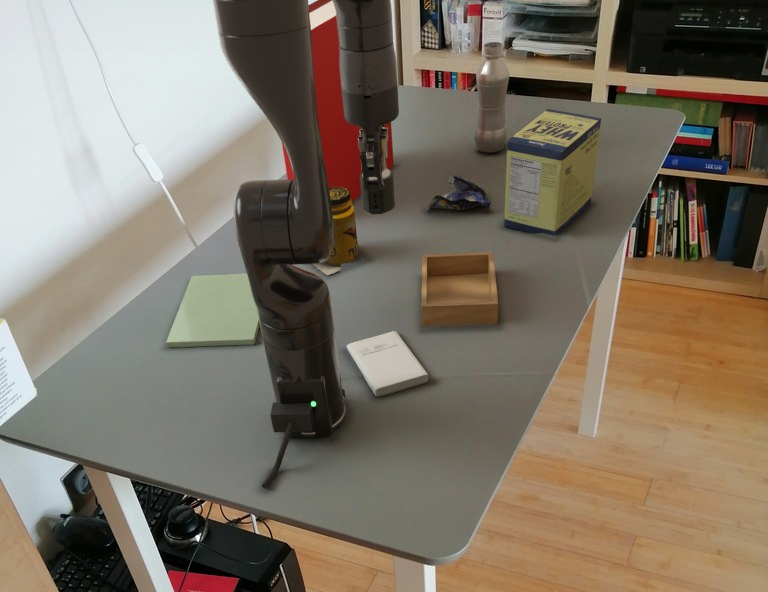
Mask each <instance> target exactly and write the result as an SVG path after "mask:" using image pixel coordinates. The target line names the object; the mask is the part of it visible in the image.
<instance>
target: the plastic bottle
mask: <svg viewBox="0 0 768 592" xmlns="http://www.w3.org/2000/svg"><path fill="white" fill-rule="evenodd" d="M503 56H504V44H503V43H502V42H499V41H490V42H487V43H484V44H483V52H482V57H483V60H482V61H481V63H480V65H479V67H478V68H477V71H476V74H475V77H476V78H475V79H476V88H477V102H478V106H477V107H478V112H477V120H476V121H477V122H476V128H475V132H474V133H475V134H474V143H475V147H476V148H477V150H478V151H480V152H482V153H496V152H500V151H501V150H503V149H504V147H505V146H506V144H507V139H508V135H507V133H508V132H507V126H506V101H507V92H508V87H509V81H510V70H509V67H508V65H507V63H506V62H505V60H504V59H503Z"/></svg>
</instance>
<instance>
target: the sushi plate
mask: <svg viewBox="0 0 768 592" xmlns="http://www.w3.org/2000/svg"><path fill="white" fill-rule="evenodd" d="M186 287H187V288H186V289H185V293H184V295H183V298H182V300H181V302H180V305H179V308H178V310H177V313H176V315H175V318H174V321H173V322H172V326H171V328H170V331H169V333H168V336H167V339H166V341H165V344H166V347H167V348H190V347H193V348H194V347H219V346H220V347H221V346H247V345H249V346H251V345H255V344H256V341H257V337H258V332H259V330H260V322H259V317H258V313H257V308H256V305H255V303H254V300H253V297H252V293H251V288H250V284H249V280H248V276H247V273H232V274H231V273H227V274H203V275H201V274H200V275H191V277H190V280H189V282H188V285H187V286H186Z"/></svg>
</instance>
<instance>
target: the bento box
mask: <svg viewBox="0 0 768 592" xmlns="http://www.w3.org/2000/svg"><path fill="white" fill-rule="evenodd" d="M494 257H495V256H494V251H482V252H460V253H459V252H458V253H436V254H435V253H433V254H422V255H421V305H420V307H421V323H422V324H421V327H444V326H445V327H447V326H471V325H497V324H498V322H499V321H498V320H499V297H498V287H497V277H496V268H495V267H496V266H495V258H494Z"/></svg>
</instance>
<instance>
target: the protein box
mask: <svg viewBox="0 0 768 592" xmlns="http://www.w3.org/2000/svg"><path fill="white" fill-rule="evenodd" d="M601 123H602V118H601V117H596V116H591V115H590V116H589V115H584V114H579V113H574V112H573V113H572V112H566V111H561V110H555V109H550V108H547V109H546V110H544V111H543V112H542V113H540V114H539V115H538V116H537V117H536V118H535V119H533V120H532V121H531V122H529V123H528V124H527V125H526V126H523V128H522V129H520V130H519V131H518V132H516V133H515V134H514V135H513V136H511V137H510V138H508V140H507V141H506V144H507V146H506V168H505V169H506V171H505V194H504V195H505V197H504V221H503V223H504V224H503V225H504V226H503V227H506V228H510V229H513V230H518V231H522V232H525V233H530V234H545V235H549V236H553V237H554V236H557V235H558V234H559V233H562V232H563V231H565V230H566V229H567V228H568V227H569V226H570V225H571V224H572V223H573V222H574V221H575V220H576V219H577V218H578V217H579V216H580V215H582V213H584V211H585V210H586V209H588V207H590V205H591V204H592V199H593V190H594V182H595V174H596V167H597V157H598V150H599V141H600V140H599V139H600V131H601Z"/></svg>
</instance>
